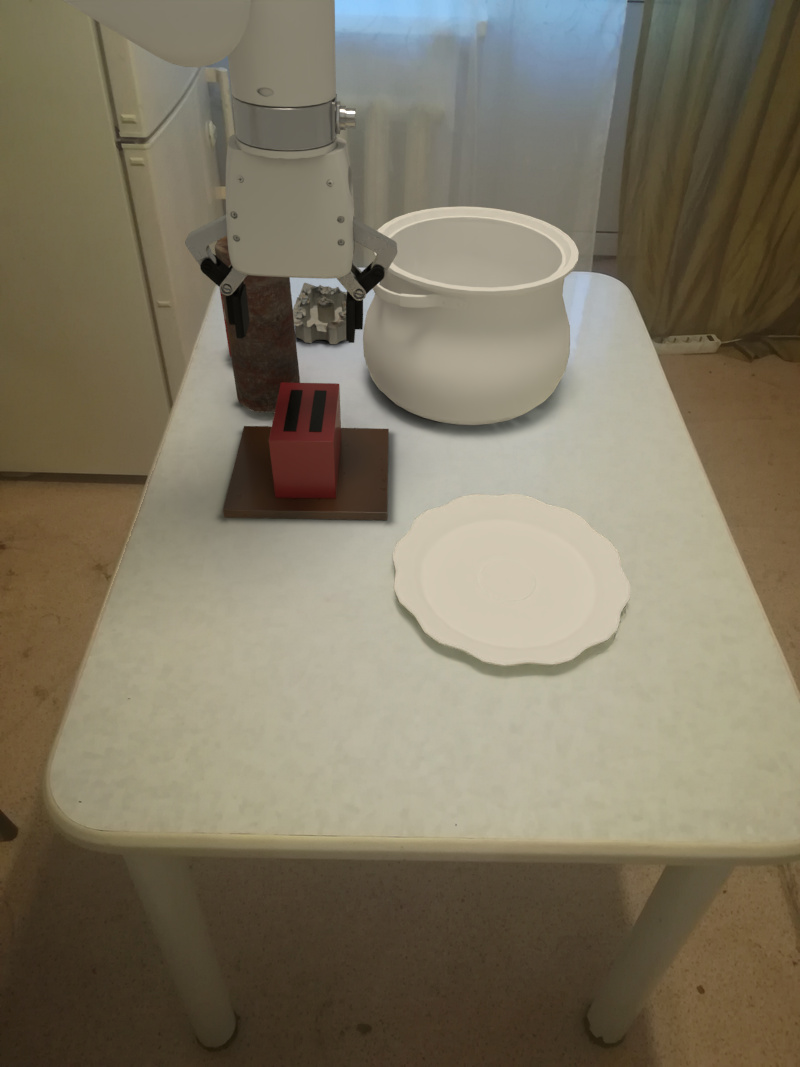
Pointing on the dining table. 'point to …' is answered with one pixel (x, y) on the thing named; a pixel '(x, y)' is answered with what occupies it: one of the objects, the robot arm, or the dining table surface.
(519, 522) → the plate
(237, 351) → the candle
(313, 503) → the board
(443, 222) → the pot
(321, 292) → the grey hollow ruin block
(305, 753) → the dining table surface
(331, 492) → the toaster
